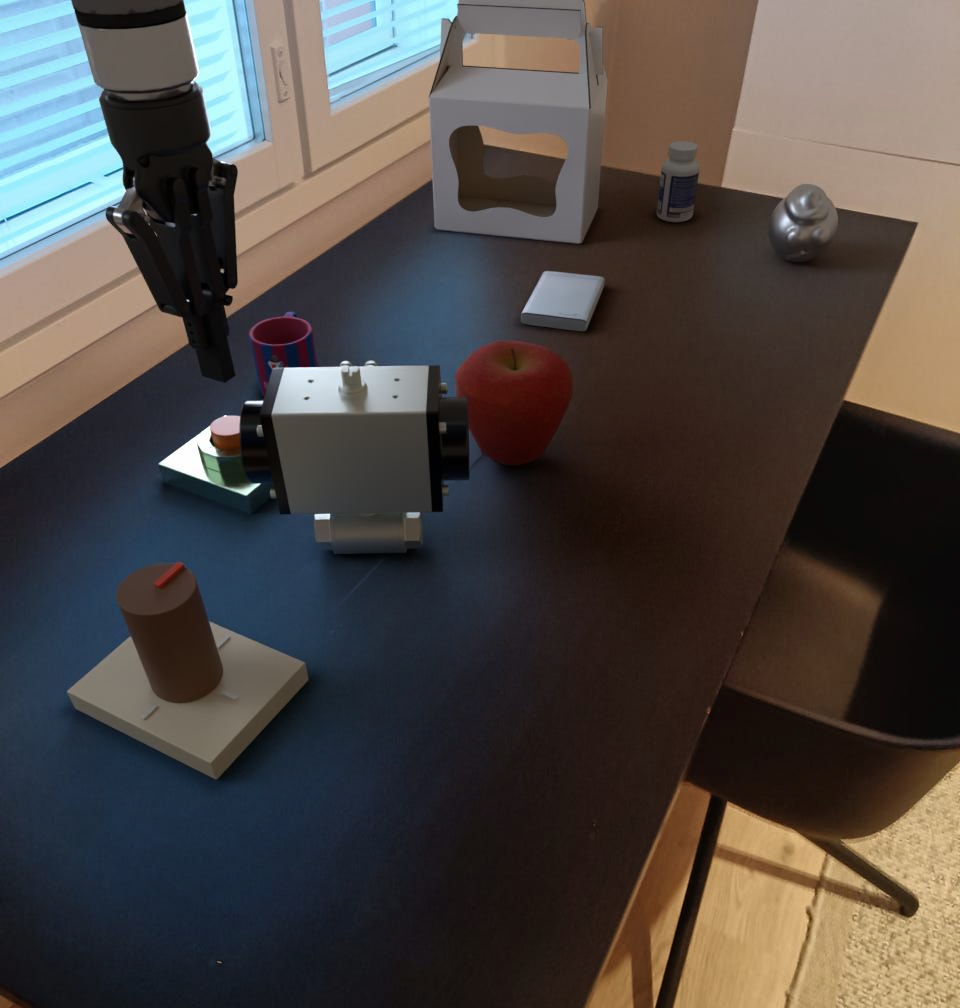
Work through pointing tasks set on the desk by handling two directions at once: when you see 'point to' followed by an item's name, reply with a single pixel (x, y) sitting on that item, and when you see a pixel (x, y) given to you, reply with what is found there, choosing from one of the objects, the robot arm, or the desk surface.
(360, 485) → the ball valve
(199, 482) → the button box
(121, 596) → the knob
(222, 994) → the desk surface
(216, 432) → the button
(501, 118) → the gable box
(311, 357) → the mug
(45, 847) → the desk surface
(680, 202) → the pill bottle
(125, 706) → the panel
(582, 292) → the hard drive
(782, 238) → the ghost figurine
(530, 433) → the apple
